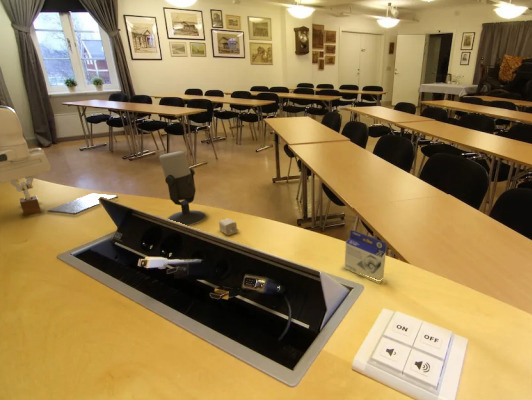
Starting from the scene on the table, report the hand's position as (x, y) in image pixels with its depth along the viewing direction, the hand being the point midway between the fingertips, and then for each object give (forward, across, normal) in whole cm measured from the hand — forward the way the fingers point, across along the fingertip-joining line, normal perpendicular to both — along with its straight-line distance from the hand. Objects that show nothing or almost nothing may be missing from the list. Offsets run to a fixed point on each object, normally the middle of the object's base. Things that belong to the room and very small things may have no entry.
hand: (25, 189), depth 117 cm
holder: (+10, 0, 0) cm, 10 cm away
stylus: (+9, 0, 0) cm, 9 cm away
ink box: (+10, +11, +125) cm, 126 cm away
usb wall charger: (+10, -3, +79) cm, 80 cm away
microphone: (+10, -10, +58) cm, 60 cm away
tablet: (+10, -12, +10) cm, 19 cm away
